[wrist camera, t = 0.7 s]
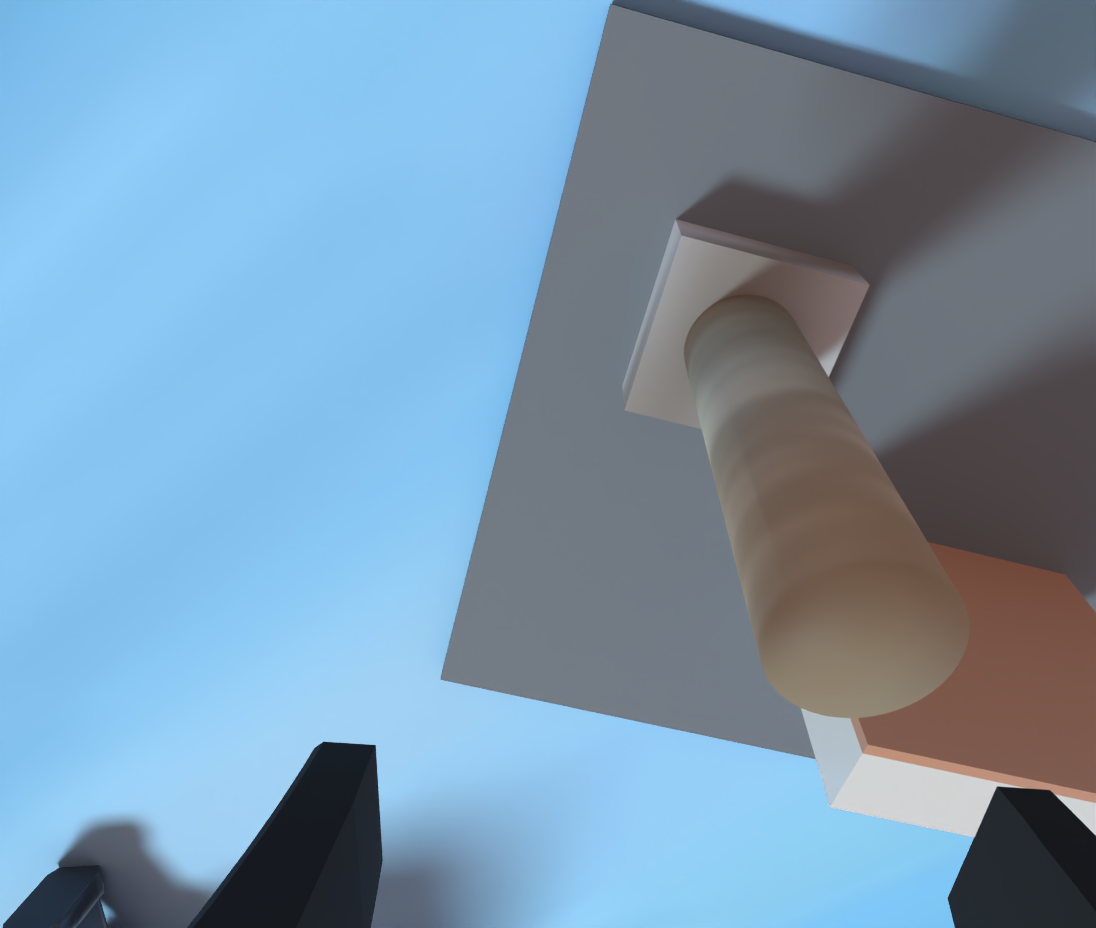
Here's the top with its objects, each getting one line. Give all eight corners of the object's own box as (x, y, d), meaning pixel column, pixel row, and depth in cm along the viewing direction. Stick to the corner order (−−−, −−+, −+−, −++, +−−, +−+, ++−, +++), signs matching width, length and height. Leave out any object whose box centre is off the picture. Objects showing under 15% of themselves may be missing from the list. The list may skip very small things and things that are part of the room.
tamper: (852, 265, 17) (1108, 547, 9) (783, 425, 19) (942, 786, 10) (675, 218, 17) (764, 464, 8) (622, 385, 19) (652, 726, 10)
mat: (1596, 284, 17) (1618, 290, 17) (1135, 816, 25) (1142, 828, 24) (610, 3, 15) (610, 4, 15) (442, 668, 23) (440, 679, 23)
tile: (1065, 574, 20) (1270, 830, 14) (1032, 623, 21) (1214, 886, 15) (781, 506, 20) (867, 744, 14) (757, 559, 21) (829, 806, 14)
